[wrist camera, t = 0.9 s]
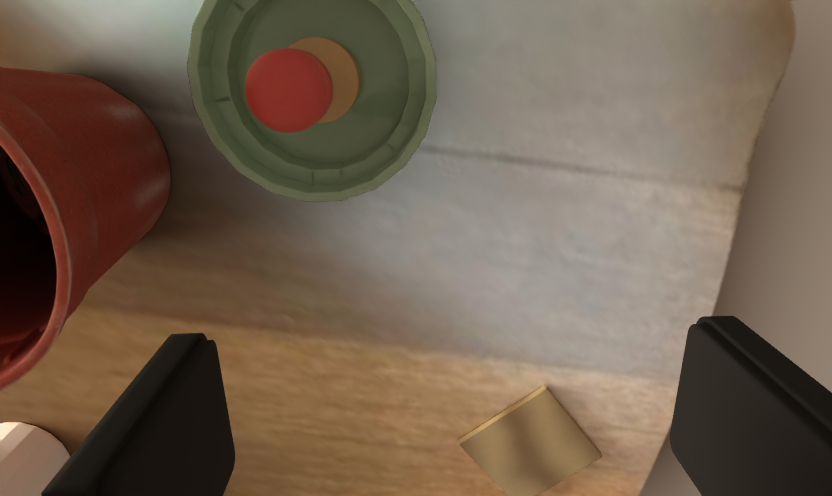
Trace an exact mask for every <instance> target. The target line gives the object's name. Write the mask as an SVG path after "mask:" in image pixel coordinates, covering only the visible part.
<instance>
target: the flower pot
mask: <svg viewBox="0 0 832 496" xmlns="http://www.w3.org/2000/svg"><path fill="white" fill-rule="evenodd" d="M8 158H11V159H12V160H13V162H14V163H15V164H16V170H17V171H18V173H19V175H20V178H21V180H22V183H23V185H24V186H25V187H26V189H27V195H22V194H21V193H20V191H19V190H18V188H17V186H16V184H15V182H14V180H13V178H12V176H11V174H10V171H9V168H8V164H7V162H6V160H7V159H8ZM170 184H171V175H170V167H169V162H168V157H167V154H166V151H165V148H164V145H163V143H162V141H161V138H160V136H159V134H158V132H157V131H156V129H155V127H154V125H153V124H152V123H151V121H150V120H149V119H148V117H147V116H146V115H145V114H144V113H143V111H142V110H141V109H140V108H139V107H138V106H137V105H136V104H135V103H133V102H131V101H130V100H128V99H126V98H125V97H123V96H122V95H120V94H119V93H117V92H116V91H114V90H112V89H111V88H109V87H108V86H106V85H105V84H104V83H102V82H99V81H97V80H94V79H91V78H88V77H84V76H80V75H74V74H65V73H54V72H44V71H34V70H24V69H13V68H3V67H0V391H1V390H4V389H5V388H7V387H9V386H10V385H12V384H14V383H16V382H17V381H19V380H20V379H21V378H22V377H24V376H25V375H26V374H28V373H29V372H30V371H31V370H32V369H33V368H34V367H35V366H36V365H37V364H38V363H39V362H40V361H41V360H42V359H43V358H44V357H45V355H46V354H47V353H48V352H49V350H50V349H51V347H52V346H53V344H54V342H55V341H56V339H57V337H58V336H59V334H60V332H61V330H62V328H63V326H64V323H65V321H66V319H67V318H68V317H69V316H70V315H71V314H72V313H73V312H74V311H75V309H76V308H77V307H78V305H79V304H80V303H81V301H82V300H83V298H84V296H85V295H86V293H87V291H88V289H89V288H90V287H91V286H92V285H93V284H94V283H95V282H96V281H97V280H98V279H99V278H100V277H101V276H102V275H103V274H104V273H105V272H106V271H107V270H108V269H110V268H111V267H112V266H113V265H114V264H115V263H116V262H117V261H118V260H119V259H120V258H121V257H122V256H123V255H124V254H125V253H126V252H127V251H128V250H129V249H130V248H131V247H132V246H133V245H134V244H135V243H136V242H137V241H138V240H139V239H141V238H142V237H143V236H144V235H145V234H146V233H147V232H148V231H149V230H150V229H151V228H152V227H153V226H154V224H155V223H156V221H157V220H158V218H159V216H160V215H161V213H162V211H163V209H164V207H165V205H166V203H167V201H168V197H169V193H170Z"/></svg>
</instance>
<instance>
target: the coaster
mask: <svg viewBox="0 0 832 496" xmlns="http://www.w3.org/2000/svg"><path fill="white" fill-rule="evenodd" d="M458 441H459V445H460V446H461V447H462V448H463V449H464V450H465V451H466V452H467V454H468V455H469V456H470V457H471V458H472V459H473V460H474V461H475V462H476V463H477V464H478V465H479V466H480V467H481V469H482V470H483V471H484V472H485V473H486V474H487V475H488V476H489V477H490V478H491V479H492V480H493V481H494V483H495V484H496V485H497V486H498V487H499V488H500V489H501V490H502V491H503V492H504V493H505V494H506V495H507V496H537V495H538V494H540V493H542V492H543V491H545V490H547V489H549V488H550V487H552V486H554V485H555V484H557V483H559V482H560V481H562V480H564V479H566V478H567V477H569V476H571V475H572V474H574V473H576V472H577V471H579V470H581V469H583V468H584V467H586V466H588V465H589V464H591V463H593V462H594V461H596V460H598V459H600V458H601V457H602V455H601V453H600V451H599V450H598V449H597V447H596V446H595V445H594V444H593V443H592V441H591V440H590V439H589V438H588V436H587V435H586V434H585V433H584V432H583V430H582V429H581V428H580V427H579V425H578V424H577V423H576V422H575V420H574V419H573V418H572V417H571V416H570V414H569V413H568V412H567V411H566V409H565V408H564V407H563V406H562V404H561V403H560V402H559V401H558V400H557V398H556V397H555V396H554V395H553V393H552V392H551V391H550V390H549V389H548V387H547V386H546V385H544V386H542V387H541V388H539V389H538V390H536V391H534V392H533V393H531V394H530V395H528V396H527V397H525V398H523V399H522V400H520V401H519V402H517V403H515V404H514V405H512V406H511V407H509V408H508V409H506V410H504V411H503V412H501V413H500V414H498V415H497V416H495V417H493V418H492V419H490V420H489V421H487V422H485V423H484V424H482V425H481V426H479V427H478V428H476V429H474V430H473V431H471V432H470V433H468V434H467V435H465V436H463V437H462V438H460V439H459V440H458Z"/></svg>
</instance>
